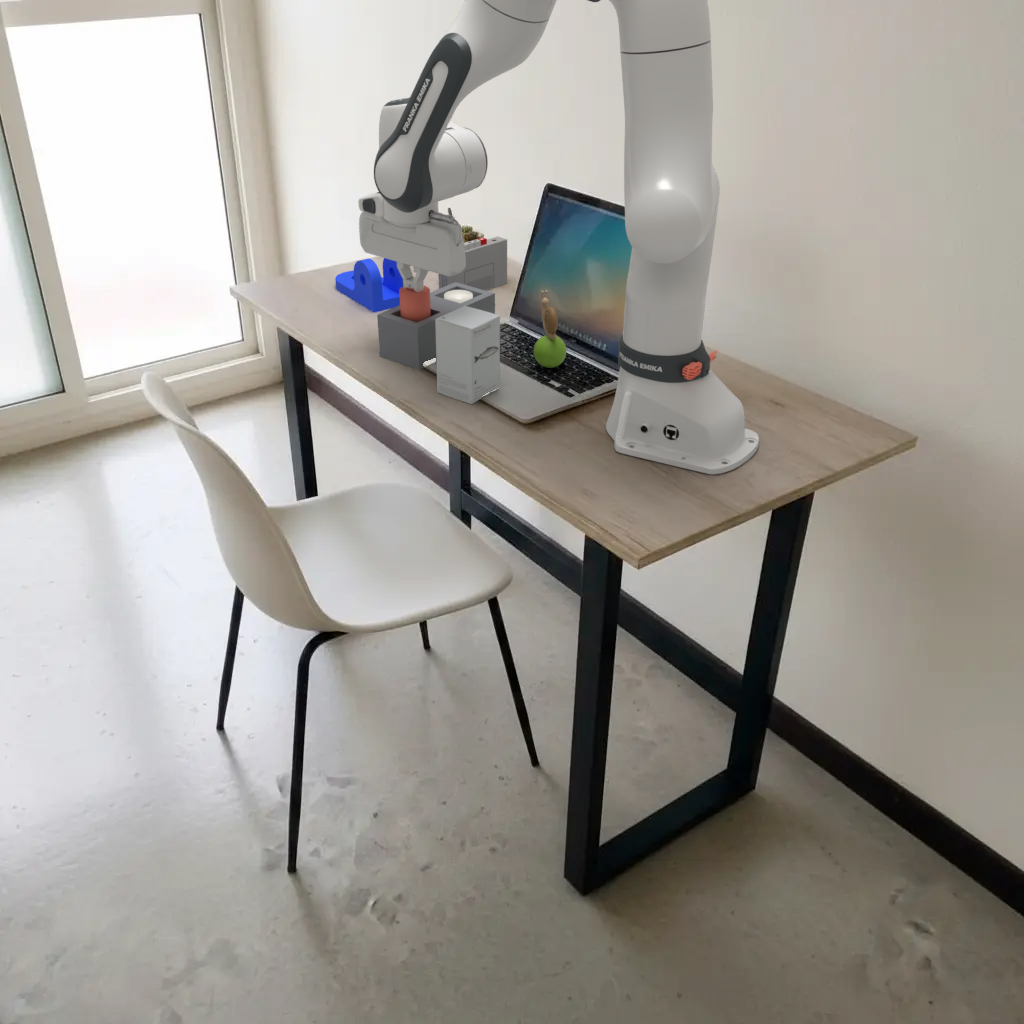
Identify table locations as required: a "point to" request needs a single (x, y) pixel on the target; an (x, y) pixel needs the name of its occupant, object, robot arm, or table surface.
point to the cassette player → (482, 265)
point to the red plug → (415, 304)
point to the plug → (458, 295)
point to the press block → (423, 326)
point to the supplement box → (467, 353)
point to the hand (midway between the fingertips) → (413, 289)
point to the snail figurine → (549, 339)
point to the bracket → (372, 284)
